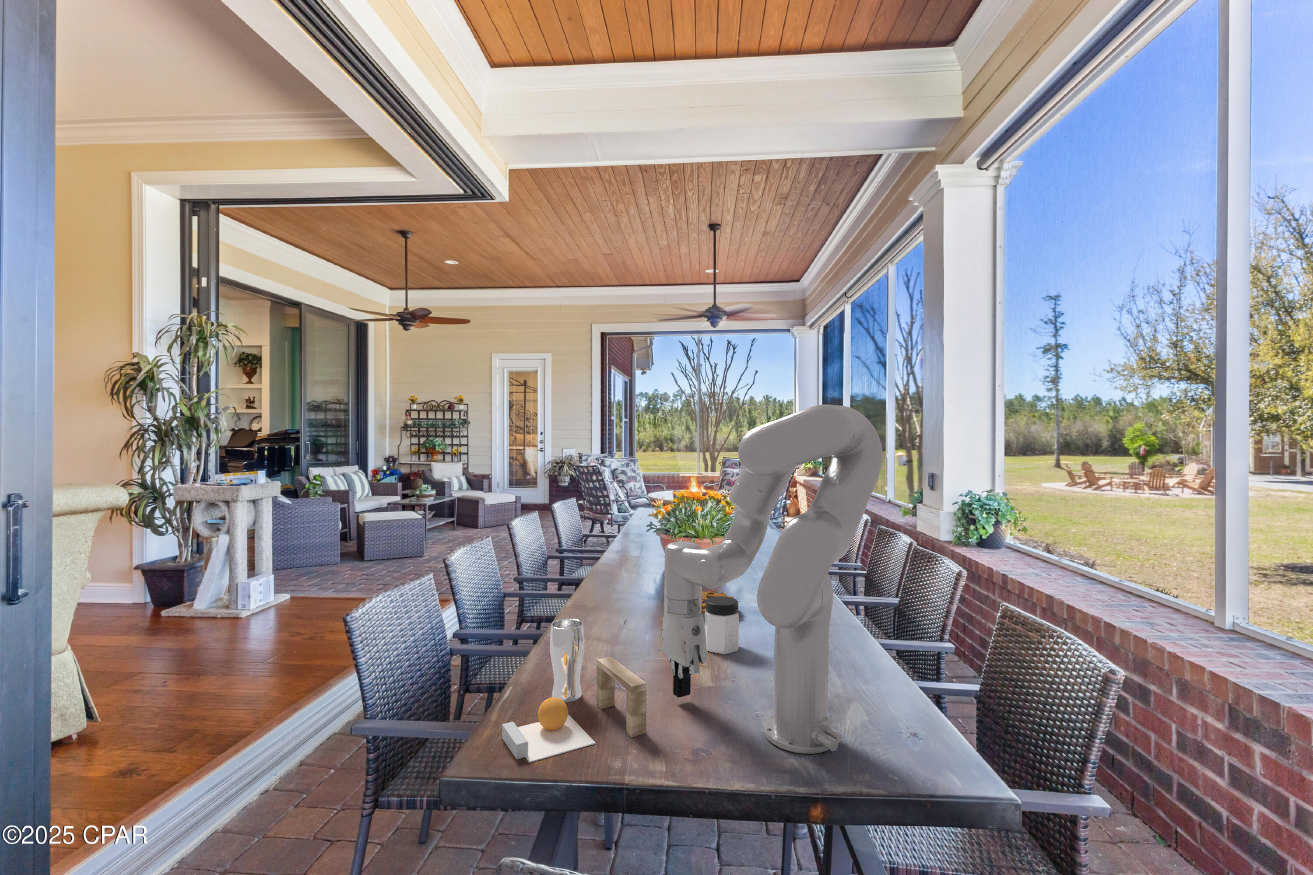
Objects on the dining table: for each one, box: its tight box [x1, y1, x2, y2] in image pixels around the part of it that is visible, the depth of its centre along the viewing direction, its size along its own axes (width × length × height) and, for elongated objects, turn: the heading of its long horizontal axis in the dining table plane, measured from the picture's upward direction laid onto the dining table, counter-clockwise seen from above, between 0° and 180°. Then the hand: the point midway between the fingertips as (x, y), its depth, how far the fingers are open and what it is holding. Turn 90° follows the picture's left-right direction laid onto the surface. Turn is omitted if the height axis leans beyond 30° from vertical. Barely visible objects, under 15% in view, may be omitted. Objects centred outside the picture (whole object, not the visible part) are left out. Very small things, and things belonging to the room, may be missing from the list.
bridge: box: [596, 656, 647, 739], centre depth 116 cm, size 3×14×9 cm, turn 31°
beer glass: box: [549, 618, 585, 703], centre depth 126 cm, size 7×7×15 cm
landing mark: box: [517, 713, 596, 764], centre depth 109 cm, size 12×12×1 cm
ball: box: [537, 696, 569, 730], centre depth 112 cm, size 6×6×6 cm
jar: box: [704, 596, 740, 655], centre depth 154 cm, size 9×8×12 cm
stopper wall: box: [501, 721, 528, 760], centre depth 106 cm, size 8×2×2 cm, turn 31°
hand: (681, 694), depth 124 cm, fingers closed
